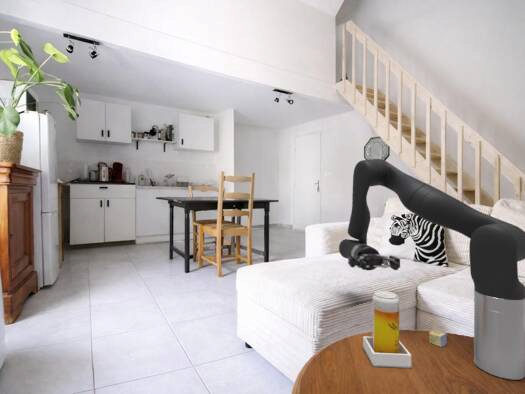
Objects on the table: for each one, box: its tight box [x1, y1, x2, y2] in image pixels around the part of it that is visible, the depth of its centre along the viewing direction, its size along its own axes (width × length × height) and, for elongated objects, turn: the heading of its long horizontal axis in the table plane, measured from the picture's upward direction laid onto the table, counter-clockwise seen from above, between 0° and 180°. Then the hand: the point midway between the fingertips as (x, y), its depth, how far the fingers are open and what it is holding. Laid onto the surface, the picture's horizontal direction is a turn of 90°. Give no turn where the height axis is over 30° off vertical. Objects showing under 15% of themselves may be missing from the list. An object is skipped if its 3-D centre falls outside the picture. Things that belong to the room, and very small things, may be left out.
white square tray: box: [362, 335, 412, 369], centre depth 73 cm, size 9×9×3 cm
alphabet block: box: [428, 329, 448, 348], centre depth 80 cm, size 3×3×3 cm
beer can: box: [371, 290, 400, 354], centre depth 73 cm, size 6×6×15 cm
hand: (380, 266), depth 82 cm, fingers open, 8 cm apart
